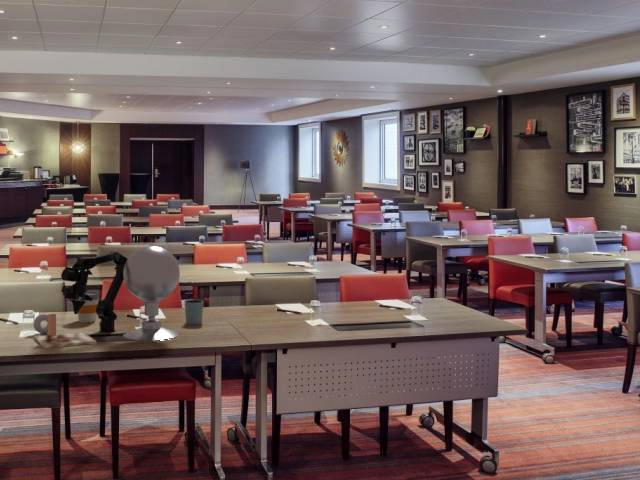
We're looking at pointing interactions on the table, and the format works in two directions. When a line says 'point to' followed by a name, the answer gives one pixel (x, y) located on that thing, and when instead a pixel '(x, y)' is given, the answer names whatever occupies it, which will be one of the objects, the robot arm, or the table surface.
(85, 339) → the board
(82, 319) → the reusable coffee cup
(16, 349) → the table surface
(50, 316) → the pink l-shaped piece
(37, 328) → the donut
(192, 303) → the grey-green tapered cup
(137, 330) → the desk lamp
